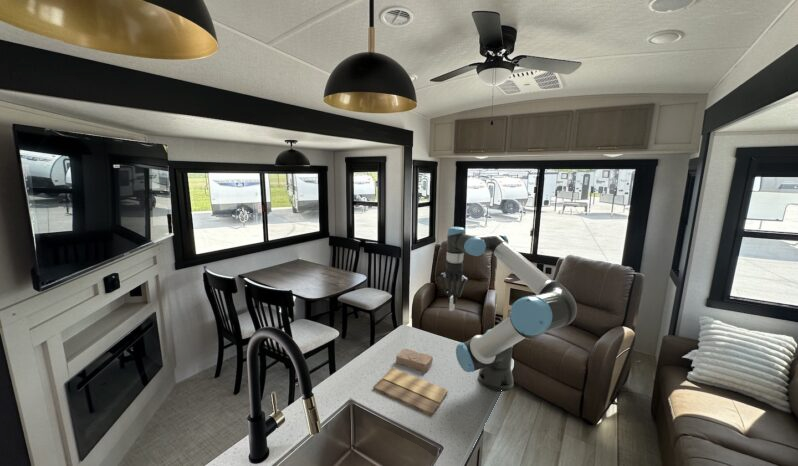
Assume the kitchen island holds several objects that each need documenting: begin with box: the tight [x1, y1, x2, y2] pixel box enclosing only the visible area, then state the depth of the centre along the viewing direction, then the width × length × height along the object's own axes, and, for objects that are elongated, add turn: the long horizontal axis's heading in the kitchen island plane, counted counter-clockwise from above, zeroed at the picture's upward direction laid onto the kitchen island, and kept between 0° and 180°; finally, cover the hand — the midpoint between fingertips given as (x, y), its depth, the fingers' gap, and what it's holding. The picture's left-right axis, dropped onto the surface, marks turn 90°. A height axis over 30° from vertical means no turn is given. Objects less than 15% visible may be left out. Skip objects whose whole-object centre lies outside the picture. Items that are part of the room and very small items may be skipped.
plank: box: [381, 367, 448, 406], centre depth 135 cm, size 28×8×1 cm, turn 58°
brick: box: [395, 347, 434, 372], centre depth 152 cm, size 17×8×5 cm, turn 63°
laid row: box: [372, 378, 440, 417], centre depth 128 cm, size 28×6×1 cm, turn 58°
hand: (451, 309), depth 144 cm, fingers closed
